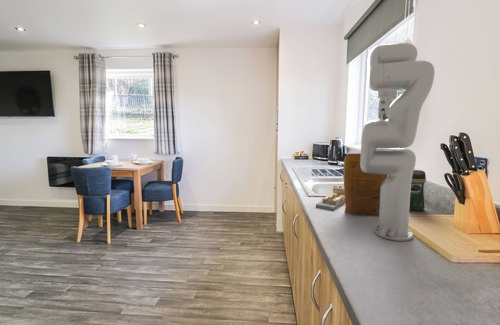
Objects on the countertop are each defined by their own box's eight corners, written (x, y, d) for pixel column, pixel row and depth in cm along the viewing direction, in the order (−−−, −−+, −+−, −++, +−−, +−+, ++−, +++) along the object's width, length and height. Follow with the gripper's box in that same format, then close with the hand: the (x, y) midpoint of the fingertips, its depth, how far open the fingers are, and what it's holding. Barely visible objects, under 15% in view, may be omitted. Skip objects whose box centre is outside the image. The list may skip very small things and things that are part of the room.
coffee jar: (421, 207, 127) (423, 169, 124) (425, 212, 119) (428, 171, 117) (398, 205, 130) (400, 168, 127) (401, 210, 123) (404, 171, 120)
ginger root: (335, 204, 129) (336, 194, 128) (322, 201, 133) (322, 192, 133) (346, 197, 140) (347, 188, 139) (334, 195, 144) (334, 187, 144)
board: (333, 210, 125) (333, 200, 124) (315, 207, 130) (316, 197, 130) (349, 200, 140) (349, 192, 139) (332, 198, 146) (332, 189, 145)
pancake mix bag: (389, 218, 113) (393, 153, 109) (342, 215, 117) (344, 153, 114) (385, 213, 120) (388, 151, 116) (341, 210, 124) (342, 151, 120)
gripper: (391, 91, 112) (388, 134, 115) (400, 94, 125) (397, 133, 128) (372, 93, 117) (370, 134, 120) (382, 96, 130) (381, 133, 133)
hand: (384, 133), depth 124 cm, fingers open, 5 cm apart
